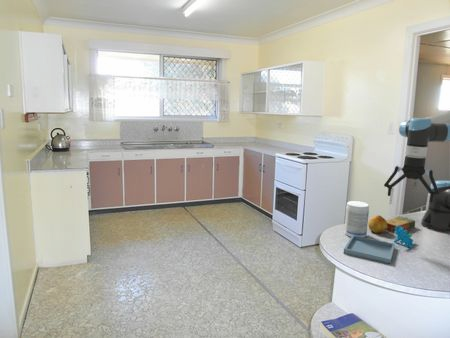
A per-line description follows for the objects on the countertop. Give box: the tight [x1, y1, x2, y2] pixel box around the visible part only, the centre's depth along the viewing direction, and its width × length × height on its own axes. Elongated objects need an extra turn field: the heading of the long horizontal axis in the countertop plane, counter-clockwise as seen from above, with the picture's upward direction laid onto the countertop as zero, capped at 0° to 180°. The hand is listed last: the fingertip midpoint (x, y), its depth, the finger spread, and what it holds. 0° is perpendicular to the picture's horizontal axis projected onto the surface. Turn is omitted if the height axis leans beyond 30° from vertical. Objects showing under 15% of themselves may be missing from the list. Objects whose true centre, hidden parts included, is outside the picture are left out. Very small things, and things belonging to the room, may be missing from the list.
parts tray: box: [343, 235, 396, 265], centre depth 145 cm, size 17×17×2 cm
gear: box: [393, 226, 415, 249], centre depth 153 cm, size 11×6×10 cm
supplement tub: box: [344, 200, 370, 238], centre depth 160 cm, size 10×10×15 cm
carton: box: [385, 215, 416, 234], centre depth 171 cm, size 8×16×4 cm, turn 125°
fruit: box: [367, 215, 387, 234], centre depth 166 cm, size 8×8×8 cm
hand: (408, 206), depth 148 cm, fingers open, 13 cm apart
